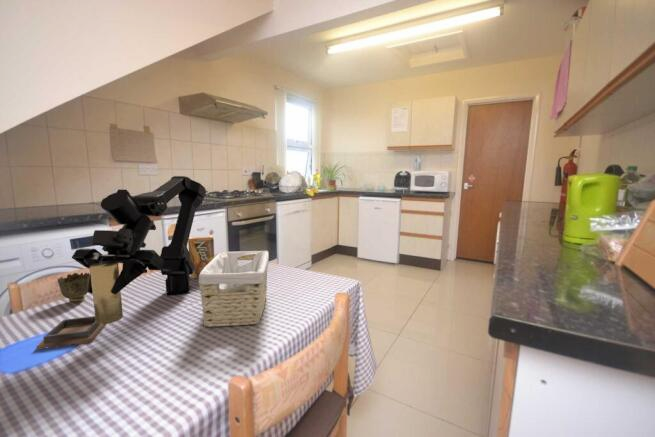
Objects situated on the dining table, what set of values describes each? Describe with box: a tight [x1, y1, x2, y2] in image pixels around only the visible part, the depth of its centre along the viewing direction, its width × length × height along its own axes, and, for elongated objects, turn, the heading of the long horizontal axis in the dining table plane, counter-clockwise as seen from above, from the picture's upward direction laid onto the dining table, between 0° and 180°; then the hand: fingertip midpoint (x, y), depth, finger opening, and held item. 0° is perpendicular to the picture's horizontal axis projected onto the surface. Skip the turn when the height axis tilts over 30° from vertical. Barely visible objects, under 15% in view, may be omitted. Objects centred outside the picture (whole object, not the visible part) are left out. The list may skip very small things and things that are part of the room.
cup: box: [57, 272, 90, 304], centre depth 85 cm, size 8×7×8 cm
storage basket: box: [198, 250, 270, 327], centre depth 82 cm, size 24×16×15 cm
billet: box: [89, 261, 124, 325], centre depth 64 cm, size 5×5×13 cm
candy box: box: [187, 235, 215, 279], centre depth 109 cm, size 9×4×15 cm, turn 116°
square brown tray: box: [36, 315, 108, 350], centre depth 68 cm, size 10×10×2 cm
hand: (101, 293), depth 63 cm, fingers closed on billet, 5 cm apart
